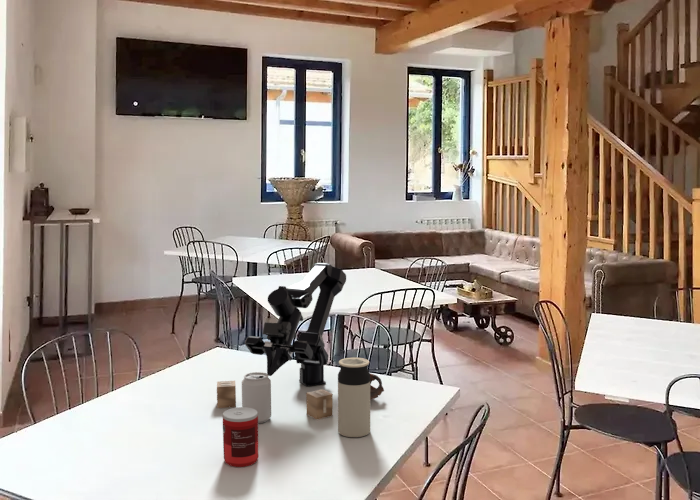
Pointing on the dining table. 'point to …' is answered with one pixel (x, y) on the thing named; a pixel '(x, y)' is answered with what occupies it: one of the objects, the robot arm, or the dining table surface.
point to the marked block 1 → (226, 394)
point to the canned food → (240, 436)
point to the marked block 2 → (319, 404)
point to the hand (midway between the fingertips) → (269, 375)
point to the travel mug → (354, 397)
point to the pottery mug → (375, 391)
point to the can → (257, 394)
